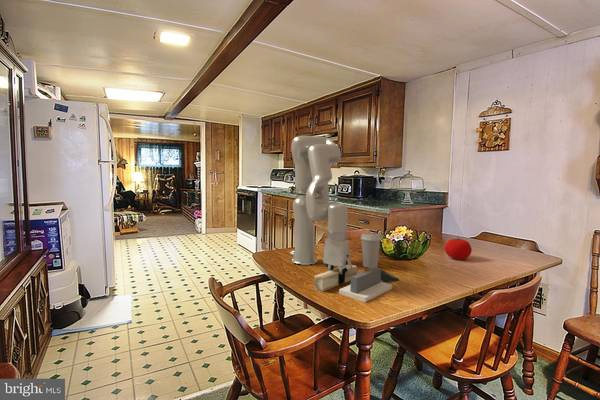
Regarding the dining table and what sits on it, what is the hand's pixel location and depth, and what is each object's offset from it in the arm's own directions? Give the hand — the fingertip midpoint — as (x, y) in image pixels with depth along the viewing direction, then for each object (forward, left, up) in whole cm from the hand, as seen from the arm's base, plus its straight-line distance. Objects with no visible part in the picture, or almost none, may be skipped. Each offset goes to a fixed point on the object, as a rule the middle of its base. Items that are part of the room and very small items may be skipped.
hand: (336, 281), depth 125 cm
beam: (0, 0, -1) cm, 1 cm away
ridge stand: (+13, +1, -1) cm, 13 cm away
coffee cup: (-3, +29, -1) cm, 29 cm away
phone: (+8, +20, -1) cm, 22 cm away
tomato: (+21, +72, -1) cm, 75 cm away
